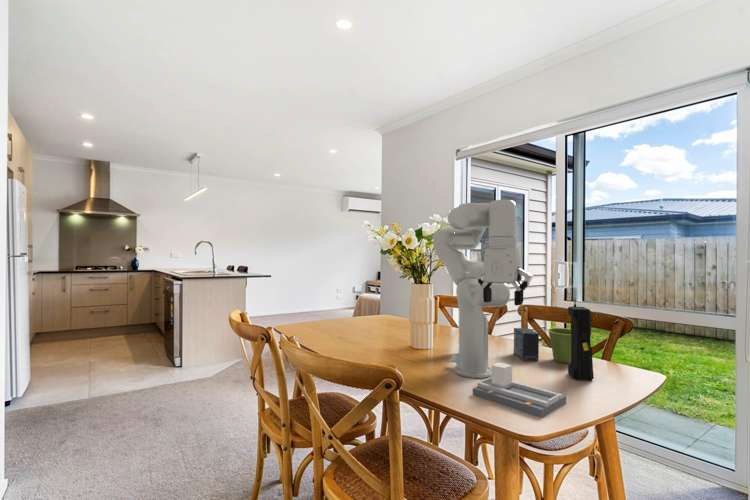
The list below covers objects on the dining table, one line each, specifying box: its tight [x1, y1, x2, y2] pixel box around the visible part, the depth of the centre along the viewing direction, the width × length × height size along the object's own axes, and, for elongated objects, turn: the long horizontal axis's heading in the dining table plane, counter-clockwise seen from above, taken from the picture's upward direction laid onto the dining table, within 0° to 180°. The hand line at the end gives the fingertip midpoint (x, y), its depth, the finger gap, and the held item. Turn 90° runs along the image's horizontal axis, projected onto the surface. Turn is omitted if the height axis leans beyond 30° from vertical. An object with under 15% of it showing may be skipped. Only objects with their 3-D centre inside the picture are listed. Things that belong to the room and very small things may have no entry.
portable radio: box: [567, 298, 595, 382], centre depth 127 cm, size 8×6×25 cm
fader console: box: [472, 376, 567, 419], centre depth 108 cm, size 20×14×3 cm
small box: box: [513, 327, 540, 362], centre depth 152 cm, size 11×6×10 cm, turn 179°
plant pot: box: [546, 327, 571, 364], centre depth 147 cm, size 12×12×11 cm
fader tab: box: [490, 362, 513, 389], centre depth 112 cm, size 4×6×6 cm
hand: (502, 303), depth 112 cm, fingers open, 9 cm apart
